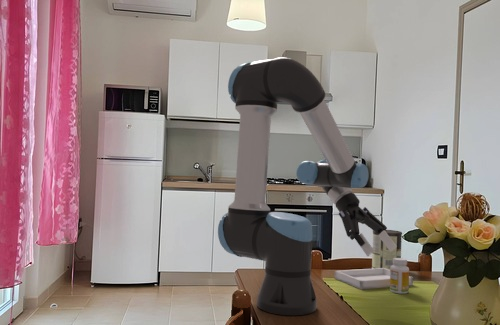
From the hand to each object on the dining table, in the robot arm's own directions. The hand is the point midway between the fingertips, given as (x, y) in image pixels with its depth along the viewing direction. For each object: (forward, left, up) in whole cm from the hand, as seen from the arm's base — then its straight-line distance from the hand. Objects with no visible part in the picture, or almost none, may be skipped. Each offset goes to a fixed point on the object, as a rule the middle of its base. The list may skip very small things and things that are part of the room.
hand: (382, 251), depth 141 cm
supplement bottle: (+1, -7, -11) cm, 13 cm away
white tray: (+1, +5, -11) cm, 12 cm away
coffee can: (+18, +19, -11) cm, 28 cm away
